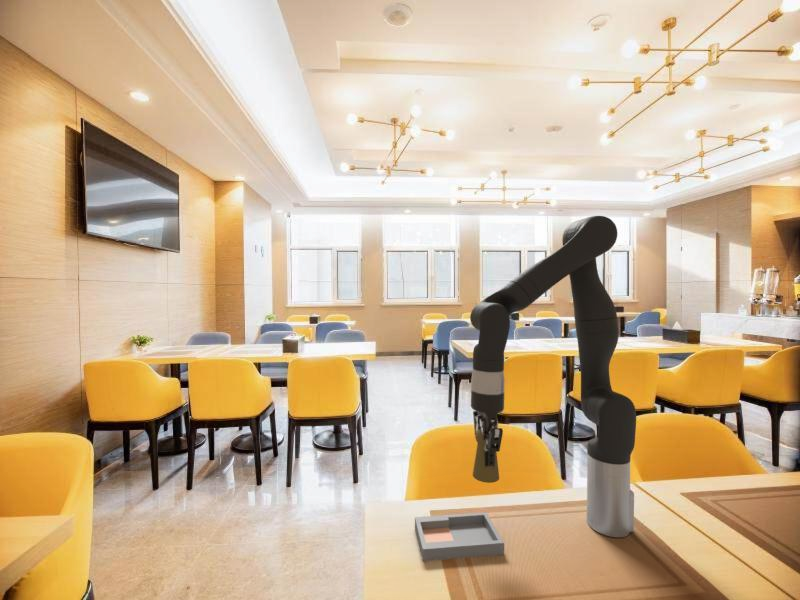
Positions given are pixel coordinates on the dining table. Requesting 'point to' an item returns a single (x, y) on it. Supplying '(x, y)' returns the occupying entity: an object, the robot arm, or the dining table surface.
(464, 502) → the dining table surface
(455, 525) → the grey shallow tray
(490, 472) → the olive pawn piece
